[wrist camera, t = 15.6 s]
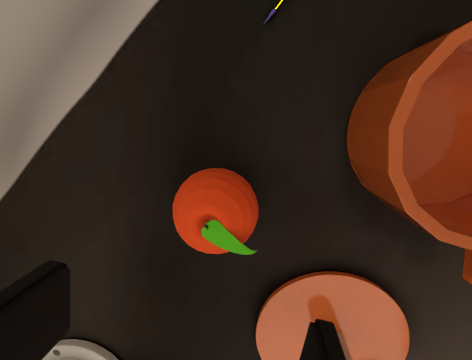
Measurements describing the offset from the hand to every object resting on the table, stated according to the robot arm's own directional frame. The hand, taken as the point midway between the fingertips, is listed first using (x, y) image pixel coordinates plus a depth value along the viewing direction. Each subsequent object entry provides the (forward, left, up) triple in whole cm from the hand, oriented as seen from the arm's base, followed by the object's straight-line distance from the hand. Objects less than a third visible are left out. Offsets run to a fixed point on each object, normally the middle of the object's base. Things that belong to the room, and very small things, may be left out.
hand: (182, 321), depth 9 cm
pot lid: (+12, -12, -14) cm, 22 cm away
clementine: (0, 0, -15) cm, 15 cm away
